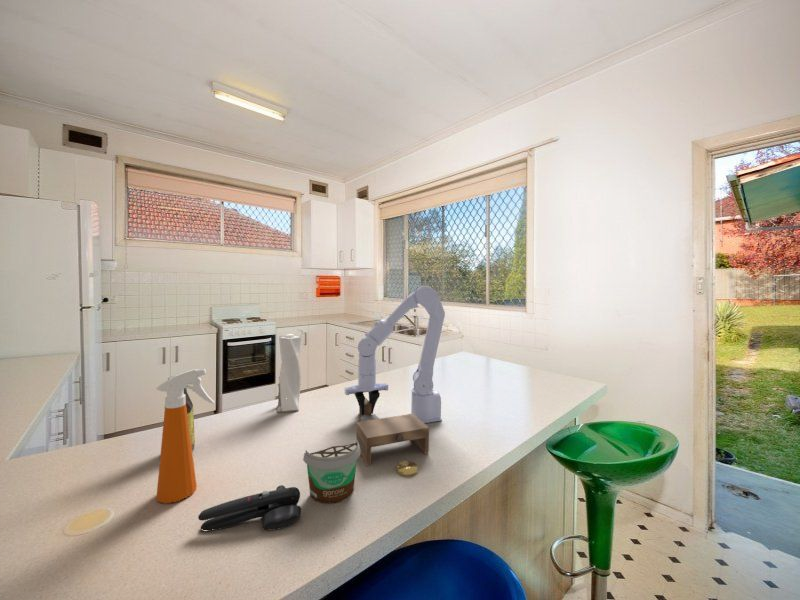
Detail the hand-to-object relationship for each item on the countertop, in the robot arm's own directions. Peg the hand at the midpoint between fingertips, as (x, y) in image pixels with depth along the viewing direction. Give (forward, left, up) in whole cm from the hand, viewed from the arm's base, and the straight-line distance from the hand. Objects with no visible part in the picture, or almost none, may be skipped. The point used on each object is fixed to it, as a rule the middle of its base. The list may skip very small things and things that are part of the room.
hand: (366, 413), depth 111 cm
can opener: (+34, +39, -2) cm, 52 cm away
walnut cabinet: (0, +23, -1) cm, 23 cm away
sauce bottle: (+52, +4, -2) cm, 52 cm away
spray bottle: (+47, +24, -2) cm, 53 cm away
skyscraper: (+23, -17, -2) cm, 28 cm away
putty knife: (0, +7, -1) cm, 7 cm away
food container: (+18, +37, -2) cm, 41 cm away
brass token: (0, +33, -2) cm, 33 cm away
